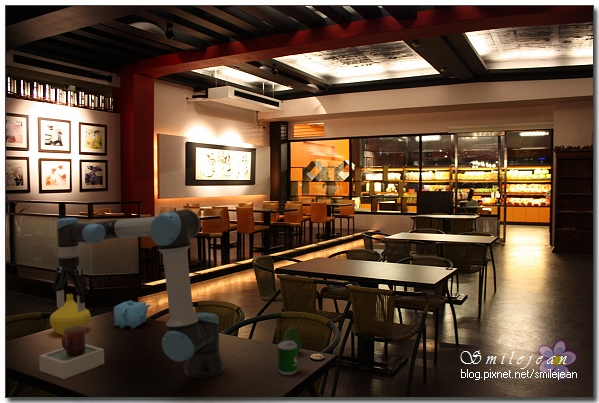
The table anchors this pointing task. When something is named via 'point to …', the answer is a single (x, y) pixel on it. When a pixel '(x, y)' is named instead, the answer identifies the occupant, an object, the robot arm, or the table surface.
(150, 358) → the table surface
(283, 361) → the soda can
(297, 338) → the fruit
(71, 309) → the vase
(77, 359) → the rectangular box
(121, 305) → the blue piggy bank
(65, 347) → the mug
